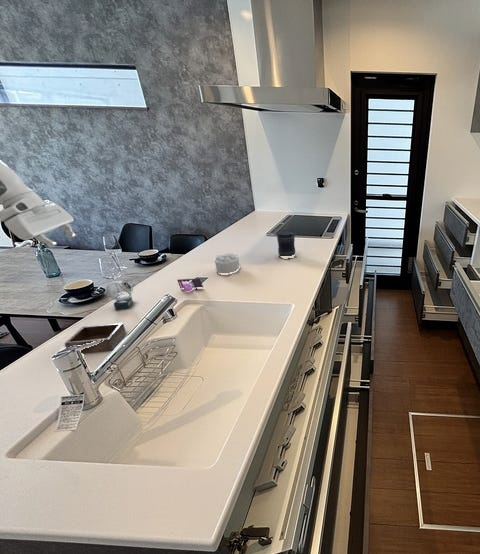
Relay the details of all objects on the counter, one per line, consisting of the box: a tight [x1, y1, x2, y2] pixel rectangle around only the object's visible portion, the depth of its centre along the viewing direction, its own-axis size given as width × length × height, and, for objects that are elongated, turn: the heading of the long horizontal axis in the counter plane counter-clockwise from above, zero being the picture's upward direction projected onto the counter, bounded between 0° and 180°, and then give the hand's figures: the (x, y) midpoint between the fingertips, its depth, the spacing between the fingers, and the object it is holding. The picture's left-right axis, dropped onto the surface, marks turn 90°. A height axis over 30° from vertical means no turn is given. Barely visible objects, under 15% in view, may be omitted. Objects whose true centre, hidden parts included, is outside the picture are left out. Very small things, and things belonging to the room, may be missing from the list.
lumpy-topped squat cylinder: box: [214, 253, 241, 278], centre depth 156 cm, size 10×13×9 cm
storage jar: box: [276, 229, 296, 256], centre depth 179 cm, size 10×10×15 cm
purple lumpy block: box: [176, 277, 204, 292], centre depth 134 cm, size 7×5×9 cm
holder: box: [64, 322, 127, 354], centre depth 99 cm, size 12×10×4 cm
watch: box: [105, 279, 134, 311], centre depth 120 cm, size 6×8×11 cm
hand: (63, 241), depth 106 cm, fingers open, 8 cm apart
